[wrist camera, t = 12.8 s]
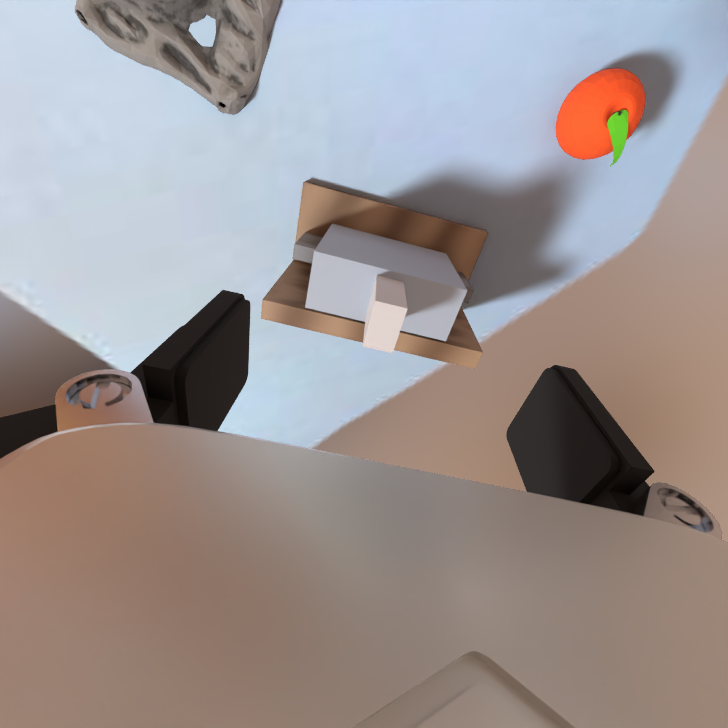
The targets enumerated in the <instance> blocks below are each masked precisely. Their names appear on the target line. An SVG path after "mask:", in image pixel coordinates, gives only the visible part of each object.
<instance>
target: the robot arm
mask: <svg viewBox="0 0 728 728" xmlns="http://www.w3.org/2000/svg"><path fill="white" fill-rule="evenodd" d="M249 329H250V302H249V301H248V300H245V298H244V295H243V294H239V293H234V292H230V291H225V290H223V291H221V292H220V293H219V294H218V295H217V296H216V297H215V298H214V299H212V300H211V301H210V302H209V303H208V304H207V305H206V306H205V307H204V308H203V309H202V310H201V311H199V312H198V313H197V314H196V315H195V316H194V317H193V318H192V319H191V320H190V321H189V322H188V323H186V324H185V325H184V326H182V327H180V328H179V329H178V330H177V331H176V332H174V333H173V334H172V335H171V336H170V337H169V338H168V339H167V340H166V341H165V342H163V343H162V344H161V345H160V346H159V347H158V348H157V349H156V350H155V351H154V352H153V353H151V354H150V355H149V356H148V357H147V358H146V359H145V360H144V361H143V362H142V363H140V364H139V365H138V366H137V367H136V368H135V369H134V370H133V371H132V372H131V373H129V372H125V371H122V370H110V369H108V370H96V371H92V372H88V373H84V374H81V375H79V376H77V377H74V378H72V379H70V380H69V381H67V382H66V383H65V384H63V385H62V386H61V387H60V389H59V390H58V391H57V393H56V398H55V401H56V402H55V403H56V404H55V405H51V406H47V407H43V408H38V409H34V410H31V411H26V412H22V413H18V414H14V415H10V416H5V417H2V418H0V728H728V542H726V541H724V540H722V531H721V528H720V524H719V523H718V521H717V520H716V518H715V517H714V516H713V514H712V513H711V512H710V511H709V510H708V509H707V508H706V507H705V506H704V505H703V504H701V503H700V502H699V501H698V500H697V499H695V498H694V497H692V496H691V495H690V494H688V493H686V492H685V491H683V490H681V489H679V488H677V487H675V486H672V485H669V484H667V483H661V482H658V483H653V484H652V485H651V486H650V487H649V486H648V484H647V483H646V482H645V480H646V479H647V478H648V477H649V476H650V475H651V474H652V473H654V470H653V469H652V467H651V466H650V465H649V464H648V462H647V461H646V460H645V459H644V457H643V456H642V455H641V453H640V452H639V451H638V449H637V448H636V447H635V446H634V445H633V443H632V442H631V441H630V439H629V438H628V437H627V435H626V434H625V433H624V432H623V430H622V429H621V428H620V426H619V425H618V424H617V422H616V421H615V420H614V419H613V417H612V416H611V415H610V413H609V412H608V411H607V410H606V408H605V407H604V406H603V404H602V403H601V402H600V401H599V399H598V398H597V397H596V396H595V394H594V393H593V392H592V390H591V389H590V388H589V386H588V385H587V384H586V383H585V381H584V380H583V379H582V378H581V376H580V375H579V374H578V372H577V371H576V370H575V369H571V368H567V367H562V366H558V365H554V366H552V367H551V368H547V369H545V371H544V372H543V373H542V375H541V376H540V378H539V380H538V381H537V383H536V384H535V386H534V387H533V389H532V391H531V392H530V394H529V395H528V397H527V399H526V400H525V402H524V403H523V405H522V407H521V408H520V410H519V412H518V413H517V415H516V416H515V418H514V419H513V421H512V423H511V424H510V426H509V428H508V430H507V440H508V443H509V445H510V448H511V451H512V453H513V456H514V458H515V461H516V464H517V466H518V469H519V472H520V475H521V477H522V480H523V482H524V485H525V487H526V490H527V492H525V491H520V490H515V489H510V488H505V487H500V486H495V485H490V484H485V483H480V482H475V481H470V480H465V479H460V478H455V477H450V476H445V475H440V474H435V473H430V472H425V471H420V470H415V469H410V468H405V467H400V466H395V465H390V464H385V463H380V462H375V461H370V460H365V459H360V458H355V457H350V456H345V455H340V454H335V453H330V452H325V451H320V450H314V449H309V448H304V447H299V446H294V445H289V444H284V443H279V442H273V441H268V440H263V439H258V438H253V437H248V436H243V435H237V434H231V433H225V432H219V431H218V429H219V427H220V426H221V424H222V422H223V421H224V419H225V417H226V415H227V414H228V412H229V410H230V409H231V407H232V405H233V404H234V402H235V400H236V398H237V397H238V395H239V393H240V392H241V390H242V388H243V386H244V385H245V383H246V380H247V376H248V360H249Z"/></svg>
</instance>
